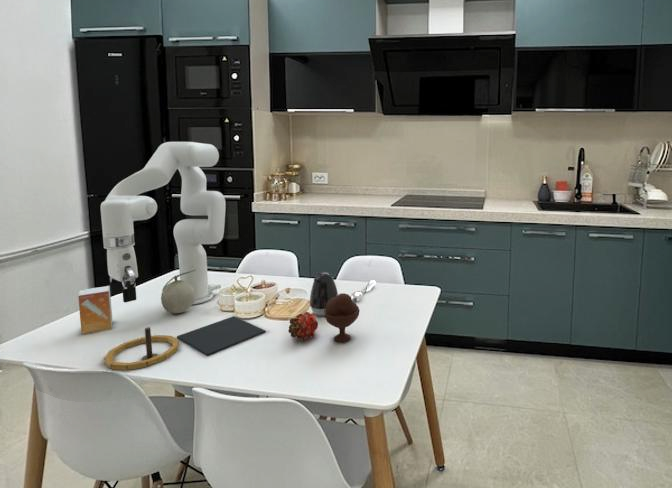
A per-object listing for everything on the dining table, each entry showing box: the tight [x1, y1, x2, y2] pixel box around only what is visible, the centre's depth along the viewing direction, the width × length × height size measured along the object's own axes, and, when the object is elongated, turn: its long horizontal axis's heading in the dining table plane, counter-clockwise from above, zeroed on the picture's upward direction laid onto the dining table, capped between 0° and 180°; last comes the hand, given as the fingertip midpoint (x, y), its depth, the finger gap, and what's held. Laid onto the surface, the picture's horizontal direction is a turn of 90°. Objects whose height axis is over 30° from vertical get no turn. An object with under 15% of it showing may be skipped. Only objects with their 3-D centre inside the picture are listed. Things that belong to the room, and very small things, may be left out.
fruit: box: [160, 270, 196, 315], centre depth 155 cm, size 10×12×15 cm
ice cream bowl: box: [324, 293, 360, 344], centre depth 134 cm, size 11×11×15 cm
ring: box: [103, 334, 180, 371], centre depth 127 cm, size 18×18×1 cm
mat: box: [176, 315, 267, 356], centre depth 138 cm, size 19×19×1 cm
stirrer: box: [350, 280, 377, 303], centre depth 175 cm, size 20×4×5 cm
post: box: [141, 326, 159, 361], centre depth 123 cm, size 4×4×9 cm
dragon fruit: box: [287, 311, 319, 341], centre depth 137 cm, size 8×8×12 cm
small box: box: [77, 285, 113, 335], centre depth 143 cm, size 8×6×13 cm
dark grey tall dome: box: [309, 271, 339, 317], centre depth 154 cm, size 10×10×15 cm
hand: (123, 297), depth 130 cm, fingers open, 9 cm apart
